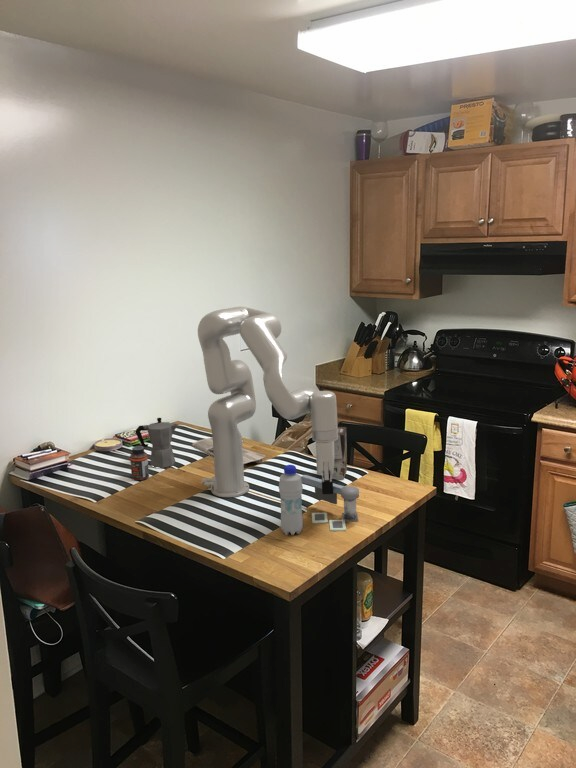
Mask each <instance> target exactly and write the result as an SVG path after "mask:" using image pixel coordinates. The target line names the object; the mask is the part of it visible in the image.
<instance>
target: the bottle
mask: <svg viewBox="0 0 576 768" xmlns="http://www.w3.org/2000/svg"><path fill="white" fill-rule="evenodd" d="M301 476H302V475H300V474H299V473H297V467H296V465H294V464H288V465H287V464H286V465H285V466H284V468H283V474H281V475H280V476H279V482H278V490H279V491H278V493H279V494H280V529H281V531H282V532H283V533H284V534H285V535H287V536H288V535H289V533H290V534H291V536H294V535H295V534H297V535H299V534H300V533H301V532H302V530H303V528H304V525H303V524H304V521H303V508H302V507H303V506H302V494H303V483H302V480H301Z"/></svg>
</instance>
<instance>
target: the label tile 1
mask: <svg viewBox="0 0 576 768" xmlns="http://www.w3.org/2000/svg"><path fill="white" fill-rule="evenodd" d="M328 523H329V520H328V513H327V512H311V524H328Z"/></svg>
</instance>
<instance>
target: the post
mask: <svg viewBox="0 0 576 768" xmlns="http://www.w3.org/2000/svg"><path fill="white" fill-rule="evenodd" d="M341 516H342V520H345V522H359V517H358V513H357V499H354V500H347V499H344V498H343V512H342V513H341Z"/></svg>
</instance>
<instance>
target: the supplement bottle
mask: <svg viewBox="0 0 576 768" xmlns="http://www.w3.org/2000/svg"><path fill="white" fill-rule="evenodd" d="M131 452H132V453H131V454H130V455H129V460H130V462H129V463H130V473H131V479H132V480H133V479H134V481H136V480H137V481H138V480H141V481H144V480H147V479H148V478H149V477H150V473H149V471H150V470H149V461H148V459H149V458H148V454H147V452H146V451H145V447H143V446H142V445H137V446H134V447H132V450H131Z"/></svg>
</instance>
